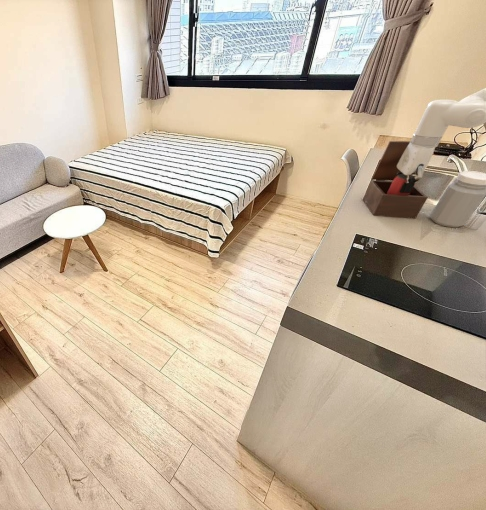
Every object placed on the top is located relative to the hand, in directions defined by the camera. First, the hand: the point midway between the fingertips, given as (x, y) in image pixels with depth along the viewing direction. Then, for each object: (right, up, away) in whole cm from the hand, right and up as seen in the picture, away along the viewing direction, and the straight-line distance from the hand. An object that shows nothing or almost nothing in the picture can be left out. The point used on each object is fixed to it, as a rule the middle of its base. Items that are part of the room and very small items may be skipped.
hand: (400, 188), depth 106 cm
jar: (+14, -13, -3) cm, 20 cm away
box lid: (+2, +11, +2) cm, 11 cm away
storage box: (+1, -7, +7) cm, 10 cm away
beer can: (0, -6, +4) cm, 7 cm away
